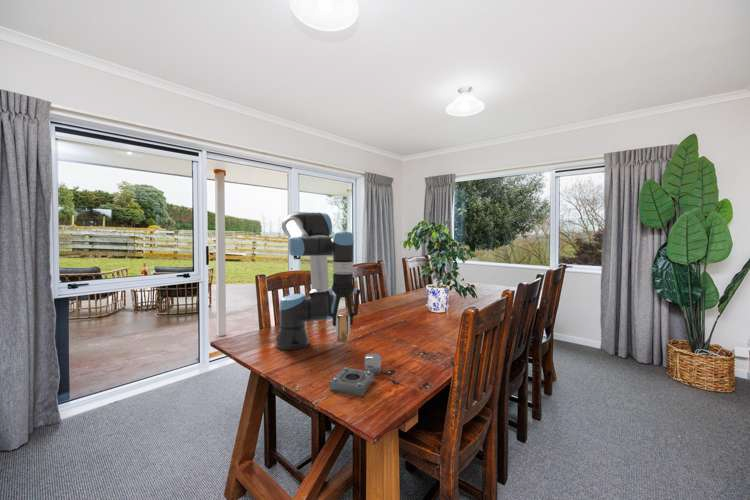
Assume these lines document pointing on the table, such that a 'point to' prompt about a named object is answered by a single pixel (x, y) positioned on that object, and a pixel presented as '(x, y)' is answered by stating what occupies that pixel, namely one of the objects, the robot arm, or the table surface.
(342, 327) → the brass peg
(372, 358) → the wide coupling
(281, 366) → the table surface
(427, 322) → the table surface
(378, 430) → the table surface
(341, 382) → the flange socket
